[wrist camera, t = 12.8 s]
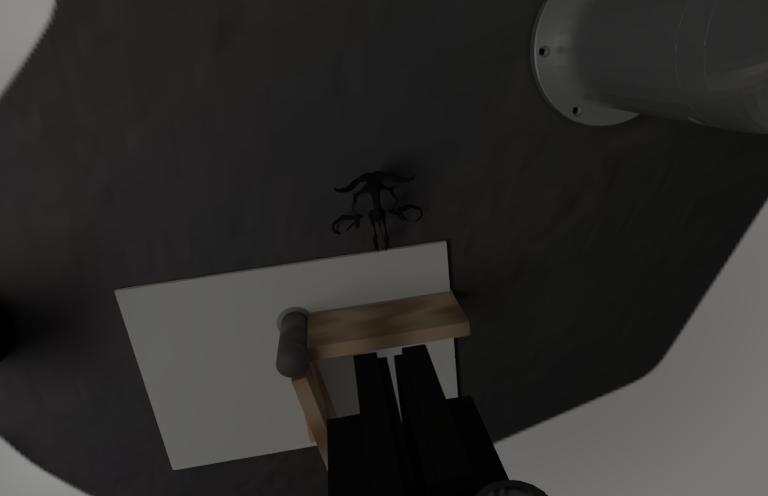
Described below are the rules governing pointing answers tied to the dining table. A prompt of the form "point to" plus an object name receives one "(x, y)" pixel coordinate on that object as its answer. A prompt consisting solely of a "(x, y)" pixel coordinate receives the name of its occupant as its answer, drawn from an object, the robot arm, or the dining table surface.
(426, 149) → the dining table surface
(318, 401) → the gate panel
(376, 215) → the creature
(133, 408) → the dining table surface
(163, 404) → the card
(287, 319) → the fence
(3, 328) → the supplement bottle
